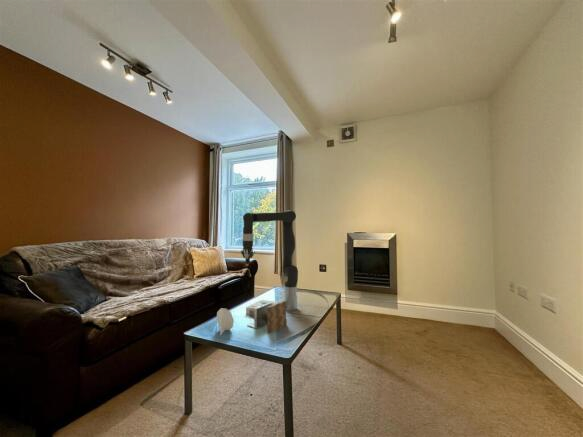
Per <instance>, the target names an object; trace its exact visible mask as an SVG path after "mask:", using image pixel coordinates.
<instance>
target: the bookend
mask: <svg viewBox="0 0 583 437" xmlns="http://www.w3.org/2000/svg"><path fill="white" fill-rule="evenodd" d="M269 306H271V303H267V304H264V305H261V306H259V307H256V308H254V317H253V318H254V319H253V322H251V323H249V324H246V326H247V327H249V328H252V329H255V330H257V329H260V328H262V327H264V326H266V325H267V311H268V307H269Z"/></svg>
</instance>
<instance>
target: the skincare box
mask: <svg viewBox="0 0 583 437" xmlns="http://www.w3.org/2000/svg"><path fill="white" fill-rule="evenodd" d="M279 302H280V301H276V300H275V301H273V300H267V299H261V300H260V299H259V300H258V301H256V302H253V303H252V304H250V305H248V306H246V307H245V314H246V315H249V316H250V310H254V308H256V307H259V306H261V305H264V304H267V303H271V306H272V305H274V304H277V303H279Z"/></svg>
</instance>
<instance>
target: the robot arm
mask: <svg viewBox="0 0 583 437" xmlns="http://www.w3.org/2000/svg"><path fill="white" fill-rule="evenodd" d="M296 217H297V214H296V213H295V211H293V210H289V209H288V210H285V211H279V212H256V213H253V212H246V213H244V214H243V217H242V220H243V228H242V250H240V253H241V255H242V257H243V258H244V259H245V264H246V265H249V264H250V262H251V259H252V258H253V256H254V255H255V253H256V251H254V250H253V249H254V248H253V246H254V235H253V234H254V233H253V230H254V229H253V228H254V227H253V226H254V223H256V222H257V223H266V222H277V221H278V222H279V221H280V222H282V227H283V231H282V232H283V234H282V235H283V238H282V239H283V242H282V243H283V244H282V247H283V262H282V273H283V275H284V276H285V277H287V278H286V279H287V280H286V281H285V282H284V301H286V311H288V312H290V311H291V312H293V311H296V310H297V309H298V294H297V291H298V290H297V289H298V288H297V284H298V282H299V281H298V280H299V270H298V267H297V266H296V265H293V264H292V260H293V259H292V258H293V255H294V252H295V250H296V238H295V234H294V229H293V222H294V221H295V220H296Z"/></svg>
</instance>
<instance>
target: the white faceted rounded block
mask: <svg viewBox="0 0 583 437" xmlns="http://www.w3.org/2000/svg"><path fill="white" fill-rule="evenodd" d="M216 321H217V324H218V326H219V327H220V332H219V336H221V335H222V334H223V333H224V332H225V331H231V329H233V328H234V318H233V314H232V312H231V311H230V310H229V309H228V308H224V307H223V308H222V307H221V308H220V309H218V311H217V312H216Z"/></svg>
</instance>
